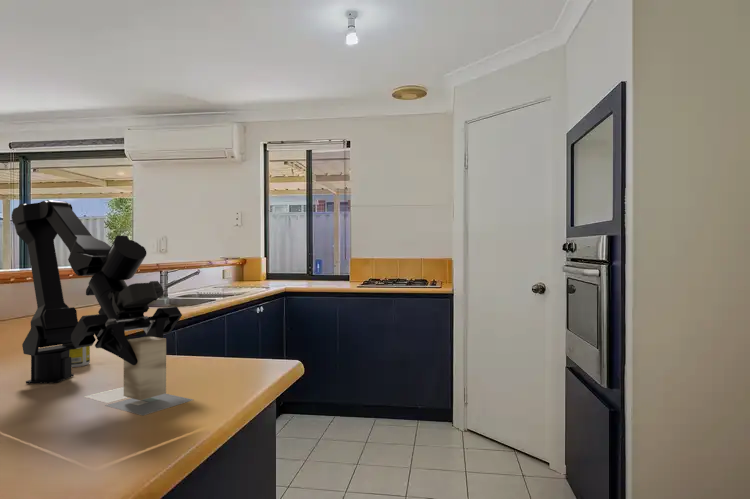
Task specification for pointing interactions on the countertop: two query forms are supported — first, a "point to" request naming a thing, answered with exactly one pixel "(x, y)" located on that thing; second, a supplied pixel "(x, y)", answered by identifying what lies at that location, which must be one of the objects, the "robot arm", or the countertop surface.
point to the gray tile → (149, 404)
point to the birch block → (146, 368)
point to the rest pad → (108, 395)
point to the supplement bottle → (80, 356)
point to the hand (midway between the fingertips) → (149, 360)
